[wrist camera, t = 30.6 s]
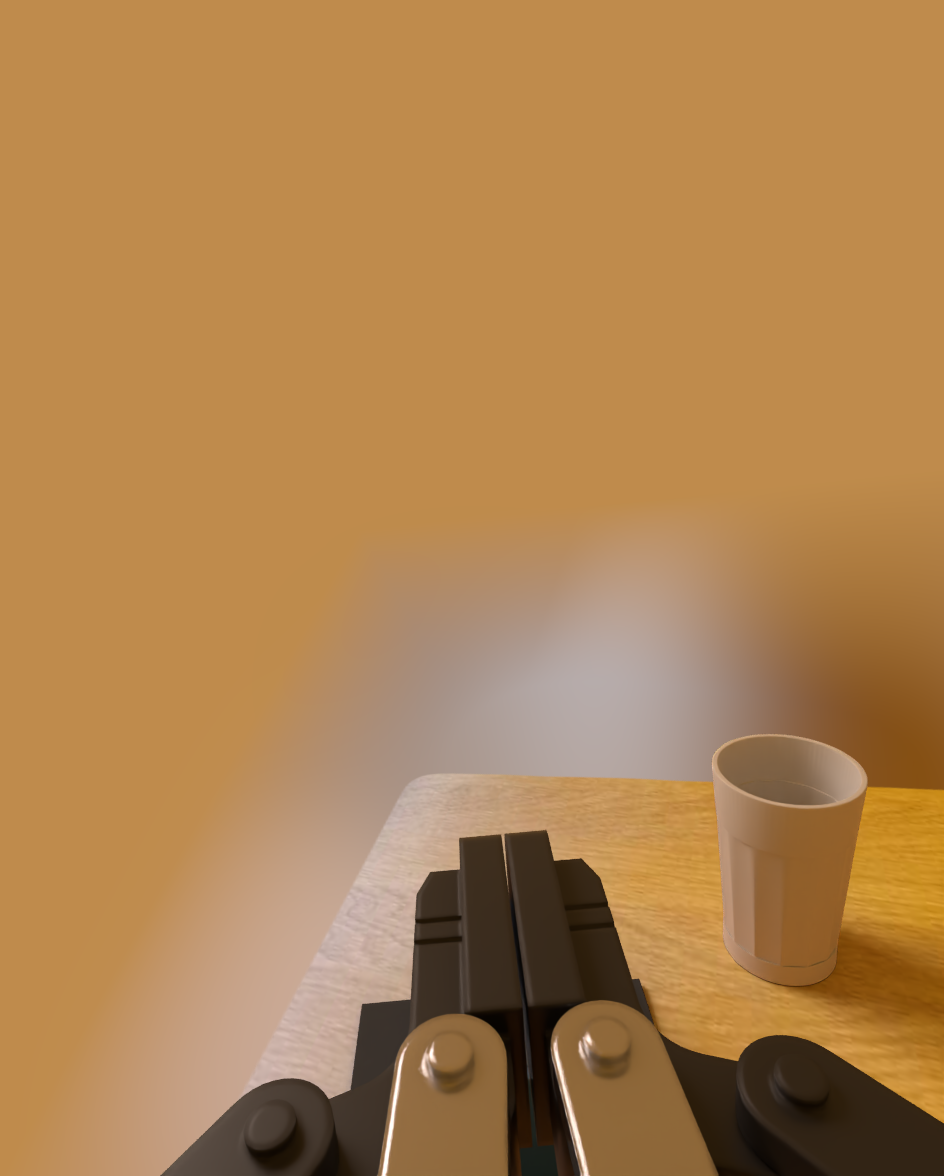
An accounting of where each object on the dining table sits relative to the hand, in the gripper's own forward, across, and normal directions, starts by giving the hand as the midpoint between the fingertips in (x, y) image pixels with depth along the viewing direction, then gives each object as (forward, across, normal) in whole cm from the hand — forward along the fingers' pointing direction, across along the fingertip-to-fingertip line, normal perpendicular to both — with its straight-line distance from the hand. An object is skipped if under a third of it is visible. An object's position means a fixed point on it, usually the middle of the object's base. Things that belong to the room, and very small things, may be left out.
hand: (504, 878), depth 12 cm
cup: (+25, -17, +26) cm, 40 cm away
